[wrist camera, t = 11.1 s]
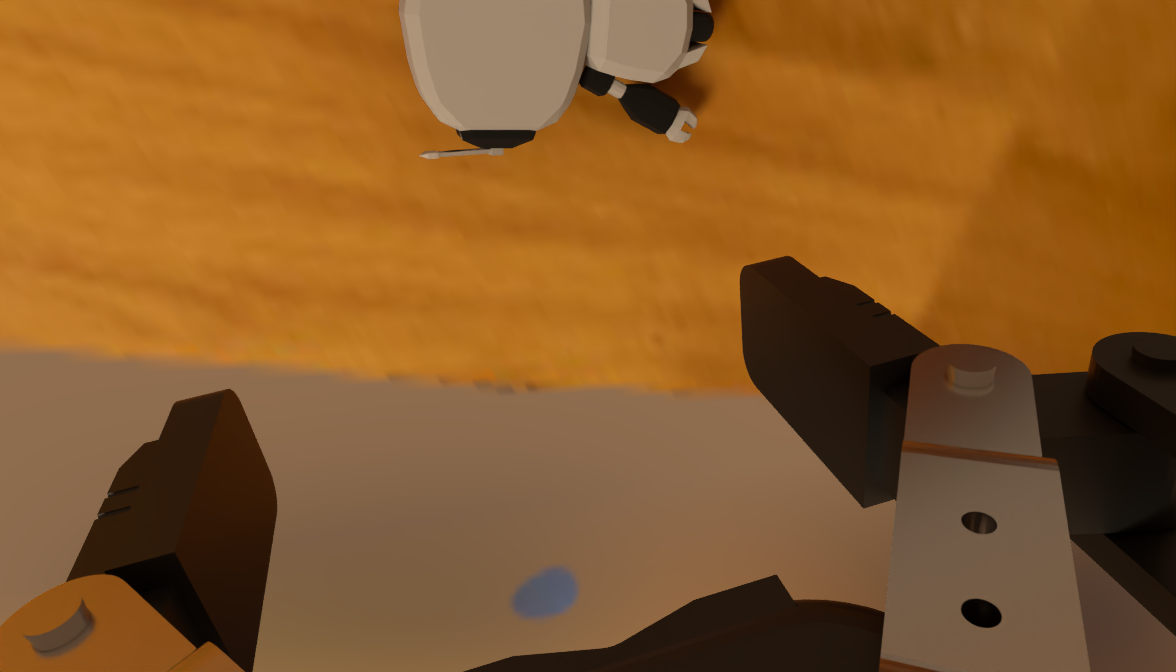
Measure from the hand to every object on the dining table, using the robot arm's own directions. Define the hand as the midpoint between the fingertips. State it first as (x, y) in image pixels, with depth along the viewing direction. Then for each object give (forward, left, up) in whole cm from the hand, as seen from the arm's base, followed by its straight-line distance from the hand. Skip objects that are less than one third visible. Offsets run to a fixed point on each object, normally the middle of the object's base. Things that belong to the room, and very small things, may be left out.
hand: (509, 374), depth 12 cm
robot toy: (-8, -2, -29) cm, 30 cm away
